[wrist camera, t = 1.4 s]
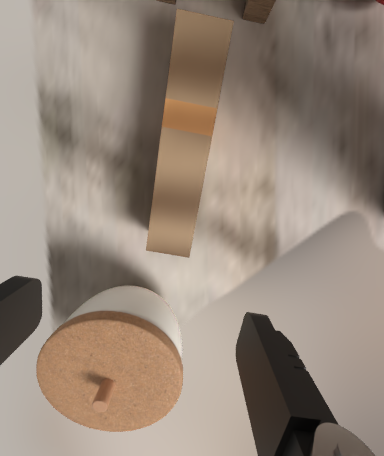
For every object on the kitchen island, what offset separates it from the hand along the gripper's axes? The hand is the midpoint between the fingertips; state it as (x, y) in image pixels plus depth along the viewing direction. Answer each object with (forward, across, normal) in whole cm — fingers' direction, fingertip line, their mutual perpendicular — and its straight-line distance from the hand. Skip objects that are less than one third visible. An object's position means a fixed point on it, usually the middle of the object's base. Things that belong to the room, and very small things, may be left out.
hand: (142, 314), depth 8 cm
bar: (+16, 0, -7) cm, 17 cm away
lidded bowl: (+16, +3, +13) cm, 21 cm away
